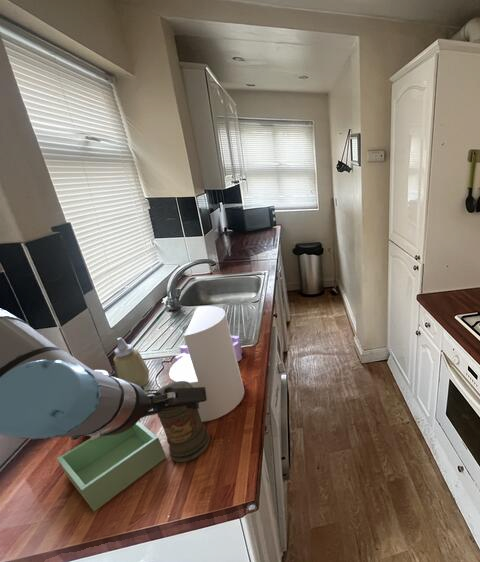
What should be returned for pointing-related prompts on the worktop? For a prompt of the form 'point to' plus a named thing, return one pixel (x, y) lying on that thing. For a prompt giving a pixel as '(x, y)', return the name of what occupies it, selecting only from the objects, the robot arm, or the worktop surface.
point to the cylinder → (210, 363)
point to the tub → (111, 463)
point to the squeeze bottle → (130, 364)
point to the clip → (235, 343)
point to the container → (183, 429)
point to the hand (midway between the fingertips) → (158, 413)
